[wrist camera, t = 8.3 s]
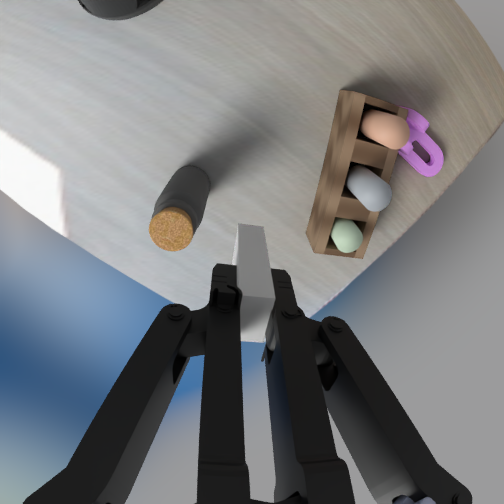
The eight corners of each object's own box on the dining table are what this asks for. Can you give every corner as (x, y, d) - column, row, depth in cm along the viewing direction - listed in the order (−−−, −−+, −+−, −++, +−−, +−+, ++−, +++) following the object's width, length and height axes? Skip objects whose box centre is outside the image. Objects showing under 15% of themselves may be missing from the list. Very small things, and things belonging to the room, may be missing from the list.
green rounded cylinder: (328, 206, 45) (340, 225, 39) (351, 210, 45) (366, 229, 40) (321, 229, 47) (332, 251, 41) (344, 232, 47) (357, 254, 42)
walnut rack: (339, 89, 37) (355, 91, 32) (388, 105, 38) (408, 109, 32) (305, 233, 48) (313, 252, 43) (350, 239, 49) (362, 258, 44)
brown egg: (362, 105, 34) (384, 111, 28) (388, 114, 34) (413, 121, 29) (356, 134, 36) (376, 144, 30) (382, 141, 36) (404, 153, 31)
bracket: (373, 132, 40) (394, 141, 34) (393, 104, 37) (416, 109, 31) (426, 180, 43) (448, 196, 38) (444, 155, 41) (468, 168, 35)
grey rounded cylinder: (349, 162, 38) (367, 177, 32) (374, 168, 38) (395, 184, 33) (341, 189, 40) (358, 208, 34) (367, 194, 40) (386, 214, 35)
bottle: (218, 180, 43) (209, 226, 30) (195, 210, 45) (180, 265, 33) (184, 157, 41) (160, 194, 28) (163, 189, 43) (134, 237, 31)
